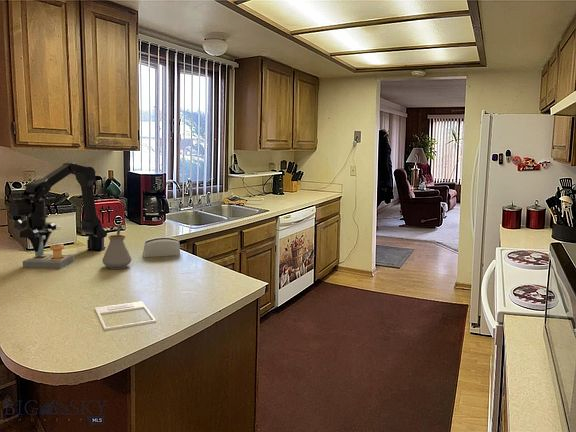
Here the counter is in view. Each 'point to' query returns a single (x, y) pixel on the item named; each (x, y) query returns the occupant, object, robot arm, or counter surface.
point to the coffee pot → (116, 252)
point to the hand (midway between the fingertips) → (39, 250)
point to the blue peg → (41, 247)
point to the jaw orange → (57, 250)
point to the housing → (47, 261)
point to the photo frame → (122, 308)
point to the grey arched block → (161, 247)
